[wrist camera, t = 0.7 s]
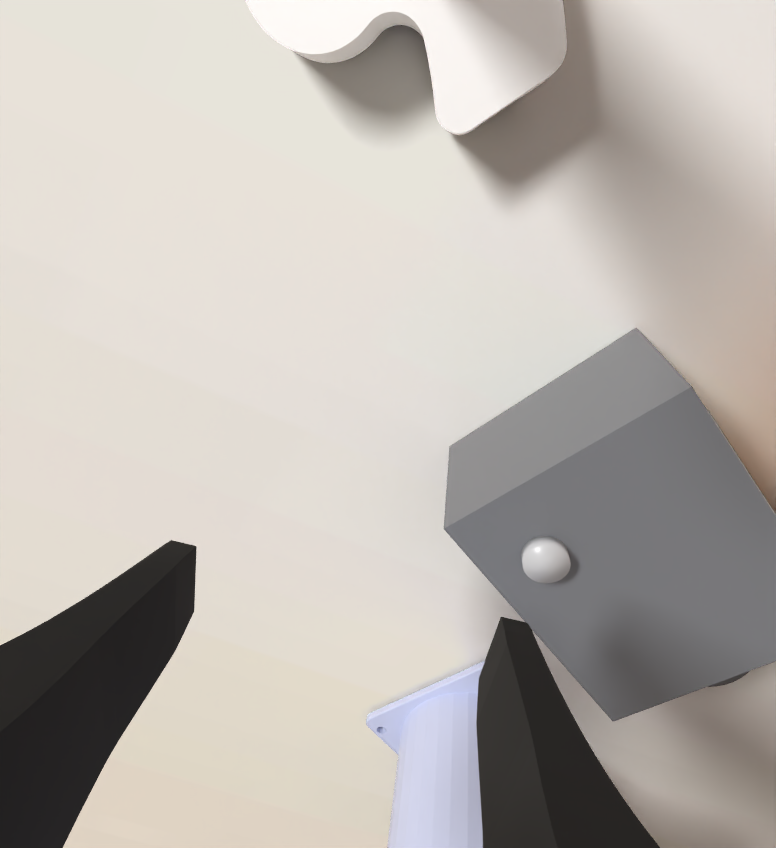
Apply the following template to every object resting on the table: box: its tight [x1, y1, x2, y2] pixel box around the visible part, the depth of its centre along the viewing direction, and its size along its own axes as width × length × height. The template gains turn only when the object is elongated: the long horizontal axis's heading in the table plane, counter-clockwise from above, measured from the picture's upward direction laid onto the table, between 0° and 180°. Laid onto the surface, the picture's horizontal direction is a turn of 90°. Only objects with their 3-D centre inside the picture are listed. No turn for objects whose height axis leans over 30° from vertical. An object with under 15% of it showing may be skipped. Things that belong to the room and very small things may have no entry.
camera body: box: [444, 328, 776, 721], centre depth 20 cm, size 12×8×6 cm
